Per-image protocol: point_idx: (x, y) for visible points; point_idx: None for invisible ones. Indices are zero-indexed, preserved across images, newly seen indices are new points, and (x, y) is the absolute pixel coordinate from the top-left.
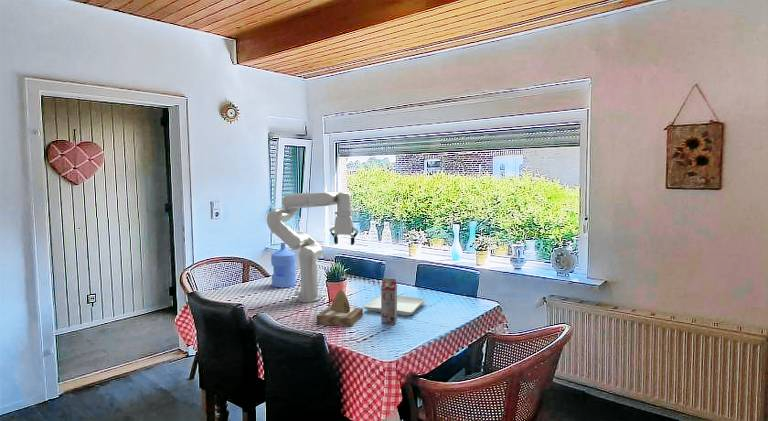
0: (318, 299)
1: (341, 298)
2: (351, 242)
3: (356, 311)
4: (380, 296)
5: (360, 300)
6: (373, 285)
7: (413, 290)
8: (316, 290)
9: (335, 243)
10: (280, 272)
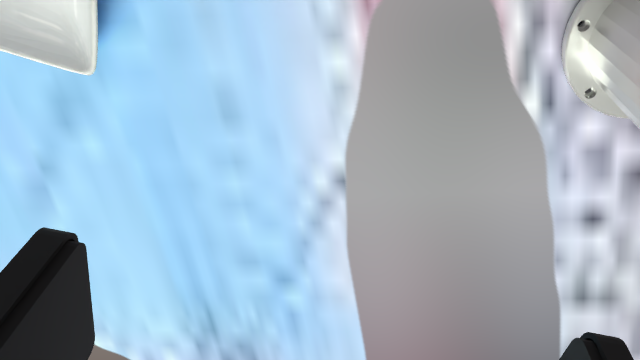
0: (579, 6)
1: None
2: (16, 282)
3: None
4: (90, 27)
5: (253, 34)
6: (250, 343)
7: (6, 260)
8: (622, 42)
9: (605, 347)
10: None
